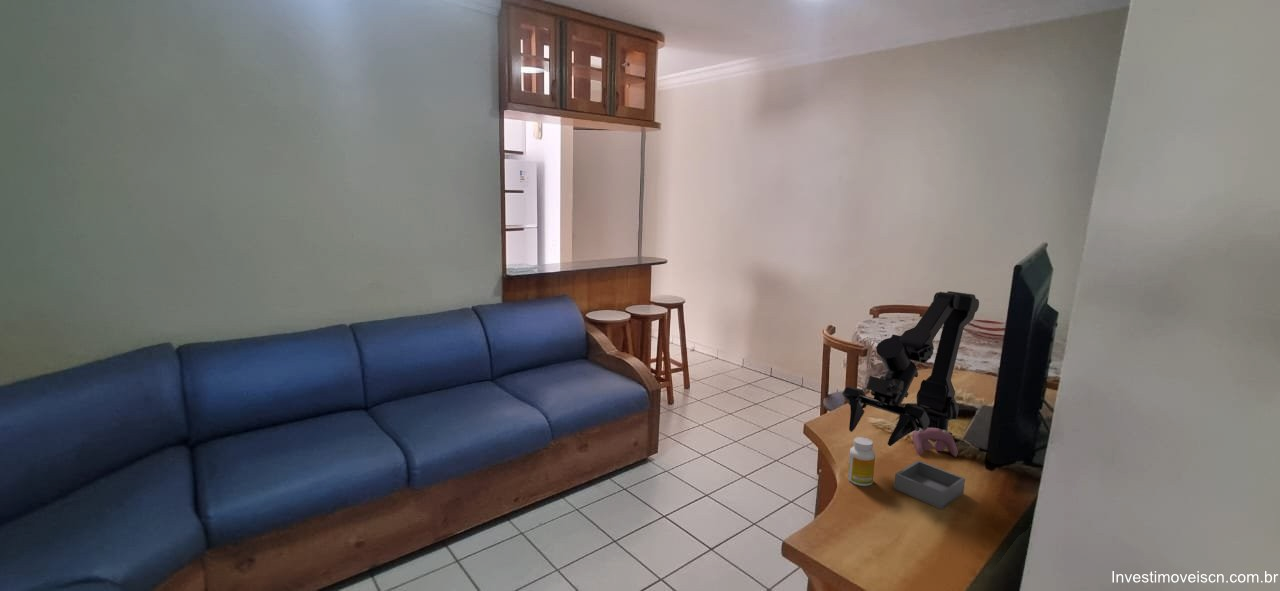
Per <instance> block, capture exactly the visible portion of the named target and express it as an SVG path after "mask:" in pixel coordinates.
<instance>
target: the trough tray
mask: <svg viewBox="0 0 1280 591" xmlns="http://www.w3.org/2000/svg"><path fill="white" fill-rule="evenodd" d="M965 482H966V478H965V477H962V476H960V475H957V474H955V473H952V472H949V471H947V470H944V469H942V468H939V467H936V466H934V465H931V464H928V463H926V462H923V461H921V460H916V461H915V462H912V463H911V464H910V465H908V466H906V467H904V468H903V469H901V470H899V471H898V472H896V473H895V474H894V485H893V489H894V490H897V491H899V492H901V493H903V494H906V495H908V496H911V497H913V498H915V499H918V500H919V501H921V502H924V503H926V504H928V505H931V506H933V507H935V508H937V509H940V510H943V509H944V508H945V507H947V506H948V505H950V504H951V503H952V502H953V501H955V500H956V499H958V498H959V497H960V496H961V495H963V494H964V492H965V491H964V490H965Z"/></svg>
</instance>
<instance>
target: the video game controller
mask: <svg viewBox="0 0 1280 591" xmlns="http://www.w3.org/2000/svg"><path fill="white" fill-rule="evenodd" d="M949 432H950V431H946V430H942V429H938V428H927V430H924V429H920V430H919V431H916V430H914V431H913V432H912V434H911V437H912V441H913V446H914V449H915V452H916V453H917V455H918V456H922V455H923V452H924V451H931V450H932V448H933V447H934V450H935V451H937V452H943V451H944V450H945V449H946V447H947V448H948V450H949V452H950V454H951V455H952V456H953V457H954V458H957V456H958V453H959V451H958V447H957V445H956V442H955V438H954V437H953V434H952V435H951V434H950V433H951V432H950V433H949ZM931 440H933V441H935V442H934V445H932V443H931V442H930V441H931Z"/></svg>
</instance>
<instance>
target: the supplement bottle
mask: <svg viewBox="0 0 1280 591" xmlns="http://www.w3.org/2000/svg"><path fill="white" fill-rule="evenodd" d="M852 444H853V446H851V448H850V449H849V456H848V457H849V458H848V468H847V469H848V470H847V480H848V481H849V482H851V483H852V484H854V485H856V486H862V487H869V486H871V485H872V484H873V482H874V477H875V476H874V474H875V473H874V472H875V460H876V453H875V451H874V450H873V445H874V442H873V440H872V439H870V438H866V437H863V436H858V437H855V438H854V439H853V443H852Z"/></svg>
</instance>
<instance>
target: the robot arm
mask: <svg viewBox="0 0 1280 591" xmlns="http://www.w3.org/2000/svg"><path fill="white" fill-rule="evenodd" d="M979 307H980V300H979V299H978V298H976V295H975V294H973V293H965V292H957V291H949V290H948V291H947V292H945V291H939V292H936V293H935V294H934V295H933V300H932V302H931V303H930V305H929V306H928V307H927V309H926V310H925V312H924V314H923V315H922V317H921V318H920V320H919V321H918V322H917V323H916V325H915V326H914V327H911V328H909V329H907V330H905V331H903V333H902V334H901V335H898V334H892V335H891V337H889V338H885V339H883V340H881V341H880V342H878V343H877V345H876V349H875V350H876V354H877V355H878V356H879V359H880V360H881V363H882V364H883V366H884V367H885V369H886V370H887V371H886V373H885V375H881V377H876V376H874V375H873V376H872V375H869V377H868V381H867V384H866V388H865V389H866V390H869V391H870V394H871V396H873V397H870V396H867V395H866V394H865V392H864V390H863V389H861V388H858V387H855V386H851V385H849V386H846V387H845V388H844V389H843V392H842V393H841V394H842V396H843V398H844V399H845V401H846V402H847V403H848V405H849V407H850V415H849V416H850V417H849V425H848V426H849V427H848V430H849V432H850V433H853V432H854V430H855V429H856V427H857V425H858V424H859V423H860V421H861V419H862V417H863V416H864V414H865V410H864V409H865V408H867V406H870V407H873V408H875V409H878V410H882V411H885V412H889V413H892V414H894V415H897V416H899V418H898V422H897V423H896V426H895V427H894V429H893V431H892V433H891V435H890V436H889V439H888V441H887V445H888V446H889V447H891V446H893V445H894V444H896V443H897V442H898V441H900V440H901V439H902V438H905V437H906V436H907V435H909V434H911V433H913V432H914V431H919V430H920V429H924V430H927V428H938V429H942V430H946V431H948V430H949V421H950V420H957V419H958V414H959V413H960V412H959V410H960V408H959V407H960V406H959V405H958V403H957V401H956V399H955V395H956V390H955V388H954V385H953V383H952V377H953V373H954V370H955V364H956V362H957V361H956V360H957V357H958V352H959V348H960V345H961V340H962V336H963V332H964V328H965V327H966V326H967V325H968V324H969V323H971V322H972V321H973V319H975V314H976V312H978V310H979ZM941 329H942V330H941ZM940 330H941V333H940V337H939V341H938V342H939V343H938V344H937V350H936V354H935V358H934V362H933V365H932V370H931V374H930V375H929V376H928V377H927V378H926V379H922V381H921V382H920V387H919V389H918V391H917V393H916V405H915V404H911V403H906V404H905V405H904V407H903V406H901V405H902V403H903V401H904V399H905V398H908V396H909V392H908V391H909V389H910V387H911V384H912V383H913V380H914V378H918V376H919V371H918V368H917V365H916V364H915V362H917V363H920V364H925V363H927V362H928V361H929V360H930V359H931V358H932V356H933V355H934V350H935V348H934V342H933V341H934V340H935V338H936V336H937V335H938V333H939V331H940ZM948 432H949V433H950V434H951V435H952V436H953V433H952V432H951V431H948Z"/></svg>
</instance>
